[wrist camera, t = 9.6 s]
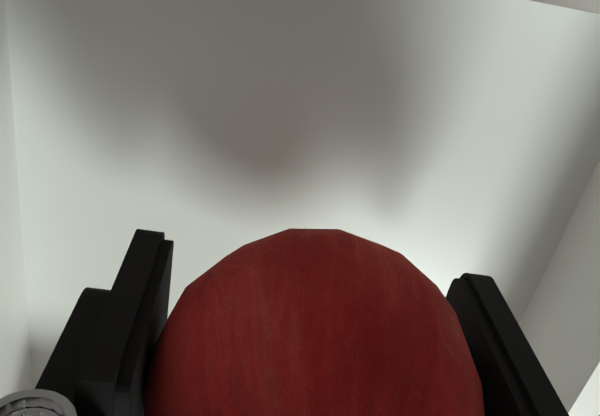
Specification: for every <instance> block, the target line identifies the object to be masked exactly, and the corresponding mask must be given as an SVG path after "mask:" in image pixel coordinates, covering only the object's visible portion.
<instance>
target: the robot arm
mask: <svg viewBox="0 0 600 416" xmlns="http://www.w3.org/2000/svg"><path fill="white" fill-rule="evenodd" d="M173 248H174V241H173V240H165V233H164V232H158V231H151V230H143V229H136V231H135V233H134V236H133V238H132V241H131V243H130V245H129V248H128V250H127V253H126V255H125V257H124V260H123V262H122V265H121V267H120V269H119V272H118V274H117V277H116V279H115V281H114V284H113V286H112V289H111V290H106V289H98V288H90V287H86V288H85V289H84V290H83V291H82V293H81V295H80V297H79V299H78V301H77V303H76V305H75V307H74V309H73V311H72V313H71V315H70V317H69V319H68V321H67V323H66V326H65V328H64V330H63V332H62V334H61V336H60V338H59V340H58V342H57V344H56V346H55V348H54V350H53V352H52V354H51V356H50V358H49V360H48V362H47V365H46V367H45V369H44V371H43V373H42V375H41V377H40V379H39V381H38V383H37V385H36V387H35V389H30V390H22V391H19V392H15V393H12V394H8V395H6V396H5V397H3V398H1V399H0V416H144V410H143V401H142V394H143V388H144V383H145V379H146V375H147V370H148V366H149V361H150V357H151V353H152V351H153V348H154V346H155V344H156V342H157V340H158V338H159V336H160V334H161V332H162V330H163V328H164V325H165V323H166V321H167V317H168V305H169V294H170V282H171V271H172V259H173ZM445 298H446V299H447V301H448V302H449V304H450V305H451V306H452V308H453V309H454V311H455V312H456V314H457V317H458V320H459V323H460V325H461V328H462V331H463V334H464V336H465V339H466V342H467V345H468V348H469V350H470V353H471V356H472V359H473V361H474V364H475V367H476V370H477V372H478V375H479V378H480V381H481V384H482V389H483V401H484V412H485V416H569V414H568V413H567V411H566V409H565V407H564V405H563V404H562V402H561V400H560V398H559V396H558V395H557V393H556V391H555V389H554V387H553V386H552V384H551V382H550V380H549V378H548V377H547V375H546V373H545V371H544V369H543V368H542V366H541V364H540V362H539V360H538V359H537V357H536V355H535V353H534V351H533V349H532V348H531V346H530V344H529V342H528V340H527V339H526V337H525V335H524V333H523V331H522V330H521V328H520V326H519V324H518V322H517V321H516V319H515V317H514V315H513V313H512V312H511V310H510V308H509V306H508V304H507V303H506V301H505V299H504V297H503V295H502V294H501V292H500V290H499V288H498V286H497V285H496V283H495V281H494V279H493V278H492V277H491V276H487V275H479V274H472V273H463V274H462V275H461V277H460V278H455V279H453V281H452V282H451V285H450V287H449V290H448V292H447V295H446V297H445Z"/></svg>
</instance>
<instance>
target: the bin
mask: <svg viewBox="0 0 600 416" xmlns="http://www.w3.org/2000/svg"><path fill="white" fill-rule="evenodd" d="M289 228H296V229H340V230H343V231H346V232H348V233H351V234H354V235H357V236H359V237H362V238H365V239H367V240H370V241H373V242H375V243H378V244H381V245H383V246H385V247H388V248H390V249H392V250H394V251H396V252H399V253H401V254H402V255H404V256H405V257H406V258H407V259H408V260H409V261H410V262H411V263H412V264H414V265H415V266H416V267H417V268H418V269H419V270H420V271H421V272H422V273H424V274H425V275H426V276H427V277H428V278H429V279H430V280H431V281H432V282H433V283H435V284H436V285H437V287H438V288H439V289H440V291H441V292H442V294H443V295H444V296H445V297H446V295H447V292H448V290H449V287H450V285H451V282H452V281H453V279H455V278H460V277H461V275H462V274H463V273H472V274H479V275H487V276H491V277H492V278H493V279H494V281H495V283H496V285H497V286H498V288H499V290H500V292H501V294H502V295H503V297H504V299H505V301H506V303H507V304H508V306H509V308H510V310H511V312H512V313H513V315H514V317H515V319H516V321H517V322H518V324H519V326H520V328H521V330H522V331H523V333H524V335H525V337H526V339H527V340H528V342H529V344H530V346H531V348H532V349H533V351H534V353H535V355H536V357H537V359H538V360H539V362H540V364H541V366H542V368H543V369H544V371H545V373H546V375H547V377H548V378H549V380H550V382H551V384H552V386H553V387H554V389H555V391H556V393H557V395H558V396H559V398H560V400H561V402H562V404H563V405H564V407H565V409H566V411H567V413H568V414H569V416H599V414H600V0H0V399H1V398H3V397H5V396H6V395H8V394H12V393H15V392H19V391H22V390H30V389H35V387H36V385H37V383H38V381H39V379H40V377H41V375H42V373H43V371H44V369H45V367H46V365H47V362H48V360H49V358H50V356H51V354H52V352H53V350H54V348H55V346H56V344H57V342H58V340H59V338H60V336H61V334H62V332H63V330H64V328H65V326H66V323H67V321H68V319H69V317H70V315H71V313H72V311H73V309H74V307H75V305H76V303H77V301H78V299H79V297H80V295H81V293H82V291H83V290H84V289H85V288H86V287H90V288H98V289H106V290H111V289H112V286H113V284H114V281H115V279H116V277H117V274H118V272H119V269H120V267H121V265H122V262H123V260H124V257H125V255H126V253H127V250H128V248H129V245H130V243H131V241H132V238H133V236H134V233H135V231H136V229H143V230H151V231H158V232H164V233H165V240H173V241H174V248H173V259H172V271H171V282H170V294H169V305H168V317H169V315H170V314H171V312H172V310H173V308H174V307H175V305H176V303H177V301H178V300H179V298H180V296H181V294H182V293H183V291H184V289H185V287H186V286H188V285H189V284H190V283H192V282H193V281H194V280H196V279H197V278H198V277H200V276H201V275H202V274H203V273H205V272H206V271H207V270H209V269H210V268H211V267H213V266H214V265H215V264H216V263H218V262H219V261H220V260H222V259H223V258H224V257H226V256H227V255H229V254H230V253H232V252H233V251H235V250H237V249H238V248H240V247H242V246H243V245H245V244H248V243H251V242H253V241H256V240H259V239H262V238H264V237H267V236H270V235H273V234H275V233H278V232H281V231H284V230H287V229H289ZM168 317H167V319H168Z"/></svg>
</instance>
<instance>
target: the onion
mask: <svg viewBox="0 0 600 416" xmlns="http://www.w3.org/2000/svg"><path fill="white" fill-rule="evenodd" d="M142 401H143V410H144V416H485V412H484V401H483V389H482V384H481V381H480V378H479V375H478V372H477V370H476V367H475V364H474V361H473V359H472V356H471V353H470V350H469V348H468V345H467V342H466V339H465V336H464V334H463V331H462V328H461V325H460V323H459V320H458V317H457V314H456V312H455V311H454V309H453V308H452V306H451V305H450V304H449V302H448V301H447V299H446V298H445V296H444V295H443V294H442V292H441V291H440V289H439V288H438V287H437V285H436V284H435V283H433V282H432V281H431V280H430V279H429V278H428V277H427V276H426V275H425V274H424V273H422V272H421V271H420V270H419V269H418V268H417V267H416V266H415V265H414V264H412V263H411V262H410V261H409V260H408V259H407V258H406V257H405V256H404V255H402V254H401V253H399V252H396V251H394V250H392V249H390V248H388V247H385V246H383V245H381V244H378V243H375V242H373V241H370V240H367V239H365V238H362V237H359V236H357V235H354V234H351V233H348V232H346V231H343V230H340V229H296V228H289V229H287V230H284V231H281V232H278V233H275V234H273V235H270V236H267V237H264V238H262V239H259V240H256V241H253V242H251V243H248V244H245V245H243V246H242V247H240V248H238V249H237V250H235V251H233V252H232V253H230V254H229V255H227V256H226V257H224V258H223V259H222V260H220V261H219V262H218V263H216V264H215V265H214V266H213V267H211V268H210V269H209V270H207V271H206V272H205V273H203V274H202V275H201V276H200V277H198V278H197V279H196V280H194V281H193V282H192V283H190V284H189V285H188V286H186V287H185V289H184V291H183V293H182V294H181V296H180V298H179V300H178V301H177V303H176V305H175V307H174V308H173V310H172V312H171V314H170V315H169V317H168V319H167V321H166V323H165V325H164V328H163V330H162V332H161V334H160V336H159V338H158V340H157V342H156V344H155V346H154V348H153V351H152V353H151V357H150V361H149V366H148V370H147V375H146V379H145V383H144V388H143V394H142Z"/></svg>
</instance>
